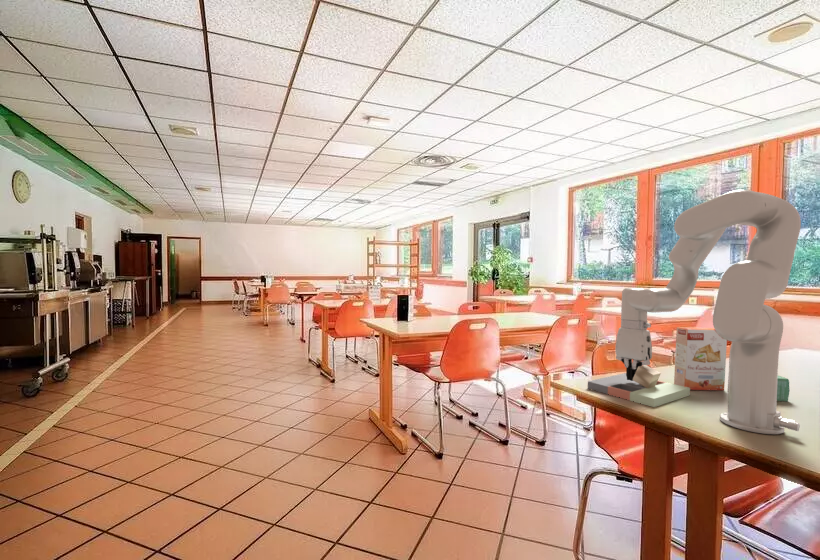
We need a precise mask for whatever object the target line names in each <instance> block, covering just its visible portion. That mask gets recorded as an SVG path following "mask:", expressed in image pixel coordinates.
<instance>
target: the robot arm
mask: <svg viewBox="0 0 820 560" xmlns="http://www.w3.org/2000/svg"><path fill="white" fill-rule="evenodd" d="M801 223H802V222H801V215H800V213H799V212H798V210H797V208H796V207H795V206H794V205H793V204H791V203H790V202H788V201H787V200H785V199H783V198H781V197H779V196H776V195H772V194H769V193H766V192H759V191H754V190H748V189H736V190H732V191H729V192H726V193H724V194H721V195H718V196H717V197H716V196H715V197H713V198H711V199H708V200H707V201H704V202H702V203H699V204H697V205H694V206H691V207H689V208H688V209H686V210H684V211H682V212H681V213H680V214H679V215H678V217H676V219H675V222H674V226H673V227H674V232H675V234H676V235H678V237H679V238H678V240H677V241H676V243H675V244H674V246H673V248H672V249H671V251H670V252H669V254H668V260H669V261H670V262H671V263H672V265H673V269H674V270H673V275H672V276H671V279H670V280H669V282H668V284H667V285H666V286H665V287H664V288H662V287H661V288H660V287H659V288H642V287H638V288H637V287H627V288H623V290H622V291H621V311H620V327H619V328H618V330H617V335H616V342H615V348H614V350H615V359H616V360H618V361H620V362H622V364H624V368H626V369H625V370H626V371H625V373H626V376H627V380H630V381H633V377H634V375H635V373H636V370H637V368H638V367H639V366H643V365H647V366H649V365H651V361H650V360H652V358H653V347H652V344H653V343H652V337H651V332H650V330H648V328H650V329H651V327H652V323H649V321H648V313H655V314H656V313H672V312H675V311H677V310H679V309H680V308H682V307H683V306H684V304H685V303H686V302H687V301H688V299H690V296H691V295H692V294H693V292H694V291H695V288H696V285H697V282H698V279H699V278H698V277H699V269H700V267H701V265H703V264H704V261H705V260H706V259H707V257H708V256H709V254H710V253H711V252H712V250H713V249H714V247H715V246H716V245H717V243H718V242H719V240H721V237H722V236H723V234H724V233H725V231H726V230H727V228H729V227H733V226H735V225H736V226H737V225H739V226H740V225H741V226H749V227H754V228H755V229H756V232H755V234H754V236H753V238H752V240H751V242H750V244H749V249H748V253H747V257H746V260H743V261H739V262H736V263H734V264H732V265H730V266H729V267H728V268H726V270H725V272H724V273H723V275H722V277H721V279H720V283H719V286H718V291H717V295H716V299H715V304H714V309H713V314H712V325H713V328H714V329H715V331H716V332H717V333H718V334H719V335H720V336H721V337H722V338H724V339H726V340H727V342H728V341H729V342H731V345H730V348H729V358H728V359H729V360H728V361H729V362H728V376H729V381H728V380H727V412H722V413H720V414H719V420H720V421H721V422H722V423H724V424H726V425H728V426H730V427H733V428H735V429H736V428H737V429H739V430H742V431H746V432H752V433H757V434H763V435H781V434H784V433H785V428H786V429H788V430H791V431H795V432H799V431H800V423H799V422H796V420H793V419H789V418H788V419H787V418H784V416H781V413H782V412H781V411H779V410H777V404H778V403H777V402H778V401H777V378H778V376H779V373H778V372H779V355H780V346H781V341H782V337H783V332H784V322H783V319H782V315H781V314H780V313H779V312H778V311H777V310H776V309H775V308H773V307H772V306H770V305H767V304H765V301H766V300H768V299H774V298H777V297H779V296H781V295H782V294H783V293H784V292H785V291H786V289H787V287H788V284H789V283H788V282H789V279H790V274H791V270H792V266H793V262H794V258H795V253H796V252H795V251H796V247H797V243H798V239H799V236H800V232H801V227H802V226H801V225H802V224H801Z"/></svg>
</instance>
